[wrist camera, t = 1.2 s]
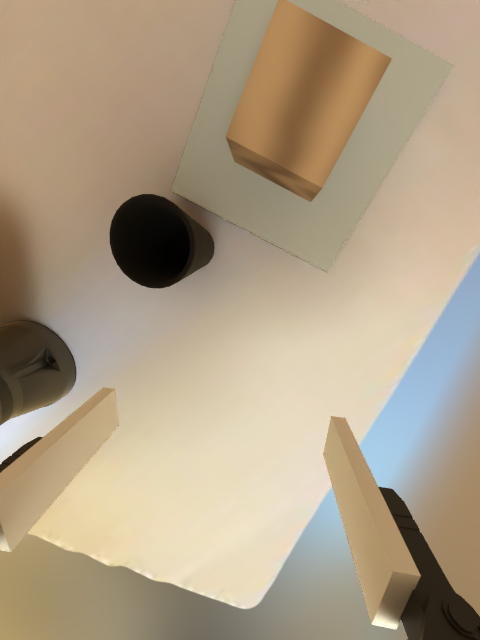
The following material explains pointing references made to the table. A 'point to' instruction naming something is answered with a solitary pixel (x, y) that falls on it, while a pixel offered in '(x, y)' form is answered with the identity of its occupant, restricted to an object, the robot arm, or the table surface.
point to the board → (352, 165)
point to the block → (302, 100)
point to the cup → (158, 241)
